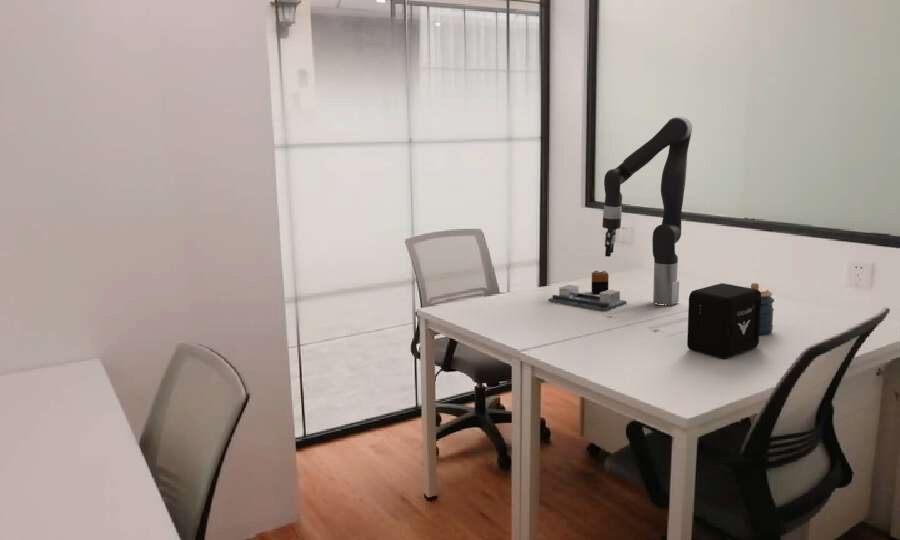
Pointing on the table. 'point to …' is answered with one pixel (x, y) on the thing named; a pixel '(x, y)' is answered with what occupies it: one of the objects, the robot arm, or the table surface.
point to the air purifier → (724, 320)
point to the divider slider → (569, 291)
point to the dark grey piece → (592, 300)
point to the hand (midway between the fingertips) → (609, 254)
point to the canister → (765, 310)
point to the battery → (599, 282)
